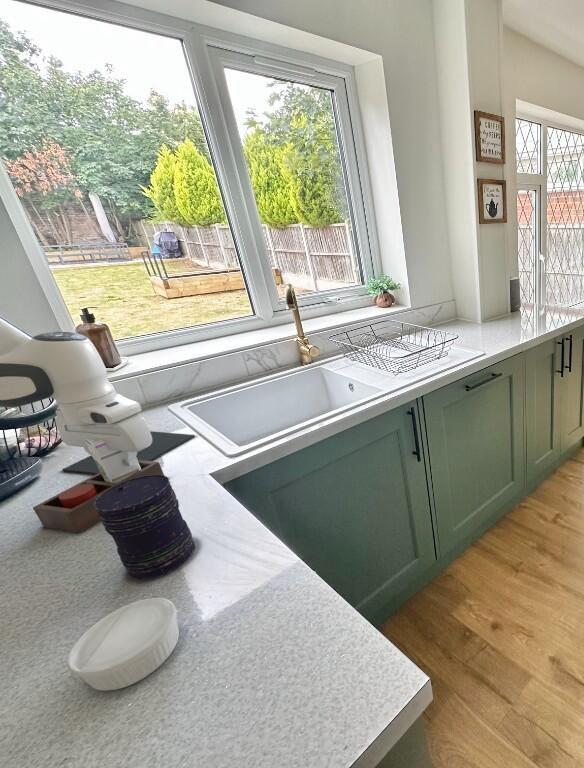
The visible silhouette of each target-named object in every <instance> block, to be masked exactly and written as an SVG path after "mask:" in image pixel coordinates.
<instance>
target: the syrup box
mask: <svg viewBox="0 0 584 768" xmlns="http://www.w3.org/2000/svg"><path fill="white" fill-rule="evenodd" d="M84 440H85V442H86V444H87V446H88V449H89V451H90V453H91V455H92V457H93V459H94V461H95V462H96V464H97V466H98V468H99V470H100V472H101V474H102V476H103V478H104V480H105V482H110V483H119V482H120V481H122V480H124V479H126V478H127V477H129V476H131V475H133V474H134V473H136V472H138V471H140V470H141V468H140V465H139V463H137V464H136V465H134V466H125V465H124V462H123V459H125V454H123V453H122V451H119V450H110V449H108V447H107V445H106V443H105V441H104V440H100V439H84ZM91 455H90V456H91Z"/></svg>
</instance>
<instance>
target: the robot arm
mask: <svg viewBox="0 0 584 768" xmlns="http://www.w3.org/2000/svg"><path fill="white" fill-rule="evenodd" d="M107 372H108V370H107V368H106V365H105V364H104V361H103V359H102V357H101V355H100V353H99V351H98V349H97V348H96V346H95V345H94V343H93V341H91V340H90V339H89V338H88V337H87V336H86V335H83V334H80V333H77V332H73V331H72V332H71V331H53V332H44V333H41V334H37V335H33V334H31V333H30V332H28V331H26V330H24V329H23V328H22V327H20V326H18V325H16V324H15V323H13V322H12V321H10V320H9V319H7V318H6V317H4V316H3V315H1V314H0V407H1V408H19V407H23V406H26V405H31V404H33V403H36V402H40V401H43V400H46V399H53V400H55V402H56V404H57V406H58V407H57V408H56V409H55V414H56V417H55V419H54V420H55V421H54V422H55V426H56V428H57V431H58V433H59V436H60V439H61V441H62V442H63V443H64V444H65V445H66V446H68V447H77V448H78V447H79V448H83V449H84V451H85V452H86V453H87V454H88V455H89V456H92V455H91V453H90V451H89V449H88V446H87V444H86V442H85V440H84V439H100V440H104V441H105V443H106V445H107V447H108V449H110V450H119V451H122V453H123V454H125V459H123V462H124V465H125V466H134V465H136V464H137V463H138V460H137V457H136V455H137V452H138V451H141V450H143V449H145V448H146V447H148V446H150V445H151V443H152V436H151V433H150V431H151V430H150V427H149V426H148V423H147V421H146V419H145V417H144V416H143V415H142V414H140V412H141V411H142V406H141V404H140V403H139V402H138V401H135V400H133V399H129V398H127V397H125V396H124V395H121V394H120V393H117V391H116V388H115V387H114V385H113V384H112V383H111V382H110V381H109V378H108V373H107Z"/></svg>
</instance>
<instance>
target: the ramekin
mask: <svg viewBox="0 0 584 768" xmlns="http://www.w3.org/2000/svg"><path fill="white" fill-rule="evenodd" d="M177 618H178V611H177V607H176V605H175V604H174V603H173V602H172V601H171V600H170V599H167V598H163V597H151V598H145V599H141V600H137V601H133V602H132V603H129V604H126V605H124V606H122V607H120V608H118V609H116V610H114V611H113V612H110V613H108V615H106V616H104V617H103V618H101V619H100V620H98V621H97V622H96V623H94V624H93V625H92V626H90V628H88V629H87V630H86V631H85V632H84V633H83V634H82V635H81V636H80V637H79V638H78V640H77V641H76V642H75V643H74V645H73V646H72V648H71V650H70V652H69V654H68V656H67V667H68V669H69V671H70V672H71V673H72V675H74V676H76V677H78V678H80V679H82V680H83V681H84V682H85V683H87V684H88V685H89V686H90V687H91V688H92V689H95V690H97V691H105V692H106V691H116V690H120V689H124V688H128V687H129V686H132V685H134V684H136V683H138V682H139V681H141V680H143V679H145V678H146V677H148V676H149V675H150V674H152V673H154V672H155V671H156V670H157V669H158V668H159V667H161V666H162V665H163V664H164V663H165V662H166V661H167V659H168V658H169V657H170V656H171V654H172V653H173V651H174V649H175V647H176V646H177V643H178V641H179V637H180V631H179V624H178V619H177Z"/></svg>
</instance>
